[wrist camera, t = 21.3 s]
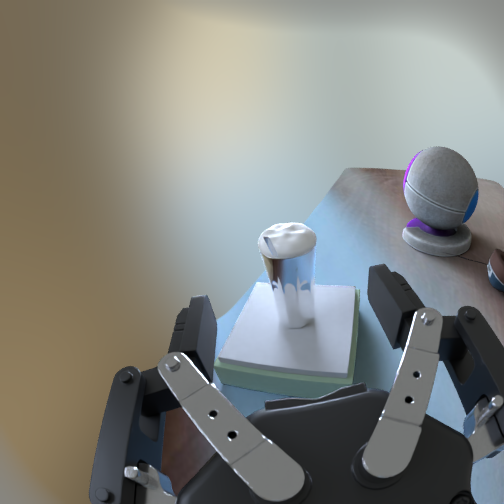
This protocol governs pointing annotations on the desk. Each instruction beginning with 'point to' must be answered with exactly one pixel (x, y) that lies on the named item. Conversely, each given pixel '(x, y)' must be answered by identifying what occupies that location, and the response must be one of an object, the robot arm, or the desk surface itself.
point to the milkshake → (290, 270)
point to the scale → (293, 345)
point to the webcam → (440, 201)
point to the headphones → (495, 269)
